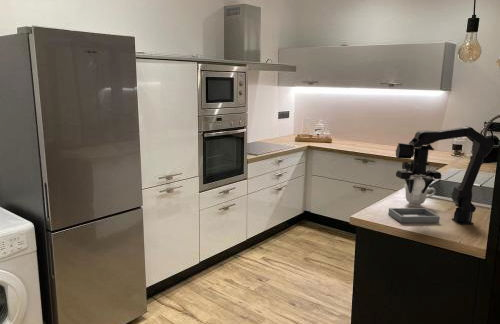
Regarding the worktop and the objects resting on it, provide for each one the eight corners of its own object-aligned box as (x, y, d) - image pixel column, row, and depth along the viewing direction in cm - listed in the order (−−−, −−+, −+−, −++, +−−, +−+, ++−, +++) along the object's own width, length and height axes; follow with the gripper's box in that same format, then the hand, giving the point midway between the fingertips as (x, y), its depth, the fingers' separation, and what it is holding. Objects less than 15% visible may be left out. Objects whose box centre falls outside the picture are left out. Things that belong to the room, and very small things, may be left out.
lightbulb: (405, 200, 177) (408, 176, 174) (411, 197, 181) (414, 174, 179) (419, 203, 172) (422, 179, 170) (425, 201, 177) (428, 177, 174)
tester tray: (424, 214, 185) (425, 208, 185) (439, 223, 174) (439, 216, 173) (388, 214, 183) (388, 208, 182) (400, 223, 171) (401, 217, 171)
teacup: (436, 210, 191) (438, 190, 189) (404, 207, 194) (406, 188, 192) (430, 203, 203) (432, 184, 201) (400, 200, 206) (402, 182, 204)
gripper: (429, 155, 182) (425, 188, 185) (391, 155, 179) (388, 188, 183) (444, 160, 171) (439, 195, 174) (403, 160, 169) (400, 195, 172)
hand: (416, 193), depth 176 cm, fingers closed on lightbulb, 6 cm apart
